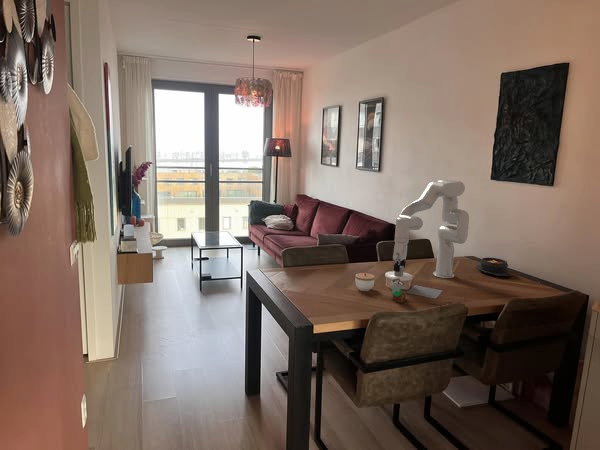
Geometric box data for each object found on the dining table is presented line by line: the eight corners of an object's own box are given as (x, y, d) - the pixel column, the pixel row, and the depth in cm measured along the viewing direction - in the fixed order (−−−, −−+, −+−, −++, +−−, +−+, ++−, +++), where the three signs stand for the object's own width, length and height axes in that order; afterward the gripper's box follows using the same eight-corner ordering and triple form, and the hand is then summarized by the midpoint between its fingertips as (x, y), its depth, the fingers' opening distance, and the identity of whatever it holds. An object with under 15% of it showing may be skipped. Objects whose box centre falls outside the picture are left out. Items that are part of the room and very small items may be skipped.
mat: (414, 285, 247) (414, 284, 247) (442, 291, 239) (443, 290, 239) (405, 293, 234) (405, 292, 234) (435, 299, 226) (435, 298, 226)
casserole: (518, 278, 270) (520, 265, 269) (492, 279, 266) (494, 266, 265) (492, 267, 294) (494, 255, 293) (468, 267, 290) (469, 255, 289)
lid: (390, 271, 253) (391, 261, 252) (415, 276, 246) (416, 265, 245) (381, 277, 240) (382, 267, 239) (407, 282, 233) (408, 272, 232)
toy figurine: (386, 295, 229) (388, 277, 227) (398, 296, 230) (399, 277, 228) (393, 304, 217) (395, 285, 215) (405, 304, 217) (407, 285, 216)
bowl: (390, 282, 253) (391, 272, 252) (412, 286, 246) (413, 276, 245) (382, 287, 242) (383, 277, 241) (405, 292, 235) (406, 282, 234)
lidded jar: (373, 293, 232) (374, 276, 230) (353, 291, 234) (354, 274, 232) (374, 287, 242) (375, 271, 241) (355, 285, 245) (356, 269, 243)
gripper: (400, 236, 248) (397, 264, 251) (389, 241, 234) (387, 271, 237) (413, 237, 244) (410, 267, 248) (403, 243, 230) (401, 274, 233)
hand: (399, 269), depth 242 cm, fingers open, 9 cm apart
